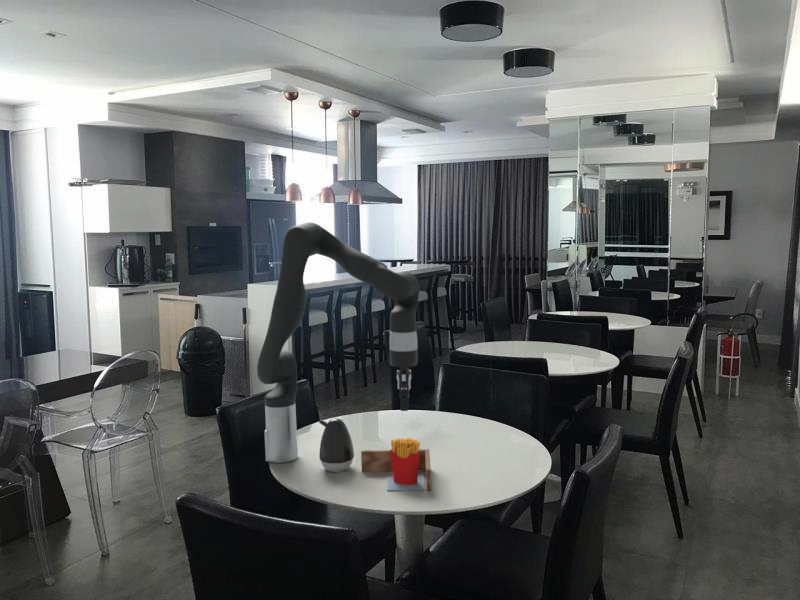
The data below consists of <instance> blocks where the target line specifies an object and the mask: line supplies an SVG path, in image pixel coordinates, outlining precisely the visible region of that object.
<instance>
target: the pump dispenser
mask: <svg viewBox="0 0 800 600" xmlns="http://www.w3.org/2000/svg"><path fill="white" fill-rule="evenodd" d="M318 423H319V424H320V425H322V426H323V427H324V429H323V432H322V435H321V438H320V439H321V440H320V443H319V444H320V445H319V451H318V452H319V455H318V459H319V460H320V463H321V465H322V466H323V468H324V469H325V470H327V471H329V472H330V473H331V472H332V473H333V472H334V473H339V472H340V473H341V472H344V471H346V470H348V469H350V467H351V466H352V463H353V461H354V460H353V459H354V457H355V449H354V444H353V440H352V437H351V433H350V432H349V429H348V427H347V425H346V423H345V422H344V420H342V419H341V418H338V417H337V418H336V417H335V418H331V419H330V420H328V422H327V421H325V420H322V419H319V421H318Z"/></svg>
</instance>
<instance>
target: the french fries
mask: <svg viewBox="0 0 800 600" xmlns="http://www.w3.org/2000/svg"><path fill="white" fill-rule="evenodd" d="M390 442H391V444H390V445H391V449H389V450H390V455H391V463H392V471H391V472H392V476H393V479H394V482H395V483H398V484H404V485H414V484H416V483H417V480H418V475H419V471H418V466H419V453H420V451H418V450H419V449H420V444H421V441H418V440H416V439H413V438H411V437H407V438H406V439H405V438H400V437H399V438H395V440H394V439H391V441H390Z"/></svg>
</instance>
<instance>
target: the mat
mask: <svg viewBox="0 0 800 600" xmlns="http://www.w3.org/2000/svg"><path fill="white" fill-rule="evenodd" d="M425 486H426V485H425V475H424V474H423V475H422V474H421V475H420V474H418V480H417V483H416V484H414V485H404V484H398V483H395V482H394V479H393V475H388V478H387V489H386V490H387V492H401V491H402V492H403V491H404V492H407V491H408V492H409V491H426V489H425Z"/></svg>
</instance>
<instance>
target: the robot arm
mask: <svg viewBox="0 0 800 600" xmlns="http://www.w3.org/2000/svg"><path fill="white" fill-rule="evenodd" d="M315 255H320V256H324V257H326V258H328V259H331V260H333V261H335V262H336V263H337V264H339V266H340V267H341V268H342V269H343V270H344V271H345V272H346V273H348V275H350V276H351V277H353V278H354V279H357V280H359V281H360V282H363V283H365V284H367V285H370V286H371V287H373V288H374V289H375V290H376V291H377V292H380V293H381V294H382V295H384V296H385V297H387V298H388V299H391V300H393V301H394V306H393V307H394V308H393V309H391V311H390V315H389V364H390V366H392V367H397V368H399V370H396V380H397V389H398V391H399V392H398V396H399V405H400V406H399V408H400V409H399V410H400V411H401V412H408V411H409V407H410V405H409V403H410V402H409V400H410V393H409V392H410V389H411V384H412V383H411V382H412V381H411V380H412V370H411V369H409V368H410V367H414V366H417V365H418V360H419V359H418V358H419V357H418V354H419V353H418V335H417V317H416V316H417V309H418V304H419V297H420V296H419V295H420V286H419V285H420V284H419V281H418V278H417V277H416V276H415V275H414V274H413V273H411V272H402V273H397V272H395V271H392V270H391V269H389V268H388V266H387V265H386V264H385V263H384V262H383V261H381V260H378V259H376V258H374V257H372V256H370V255H368V254H365V253H364V252H362V251H360V250H359V249H355V248H354V247H353V246H351V245H349V244H348V243H346V242H344V241H342V240H341V239H340V238H338V237H337V236H335V235H334V234H332V233H331V232H330V231H328V229H327V230H326V229H325V228H324V227H323V226H321V225H319V224H317V223H315V222H312V221H311V222H310V221H309V222H303V223H301V224H297V225H294V226H291V227H290V228H289V229H288V230H287V231H286V233H285V235H284V239H283V245H282V255H281V263H280V264H281V265H280V271H279V276H278V281H277V286H276V291H275V295H274V299H273V304H272V309H271V313H270V319H269V323H268V328H267V331H266V335H265V339H264V341H263V344H262V347H261V350H260V354H259V357H258V360H257V367H256V371H257V377H258V379H259V381H260V382H261V383H263V384H264V385H273V384H276V385H275V386H274V387H273V388H272V389H271V390H270V391H269V392H268V393H267V394H266V395H265V396H264V409H265V413H264V414H265V415H264V416H265V430H264V450H265V453H264V454H265V462H271V463H276V464H278V463H280V464H281V463H289V462H292V461H294V460H297V459H298V456H299V455H298V452H299V451H298V450H299V449H298V436H297V435H298V434H297V433H298V432H297V431H298V430H297V413H296V411H297V408H296V397H297V394H298V381H297V380H298V367H297V366H298V365H297V361H296V358H295V355H294V354H293V353H292V352H291V351H290V350H283V347H284V346H285V344H286V343H287V341H288V340H289V338H290V337H291V336H292V335H293V334H294V333H295V332H296V330H297V329H298V327H299V326H300V325H301V323H302V321H303V317H304V314H305V310H306V307H307V302H308V301H307V299H308V298H307V292H306V288H305V283H304V273H305V271H306V270H305V269H306V266H307V263H308V260H309V257H311V256H315Z"/></svg>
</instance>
